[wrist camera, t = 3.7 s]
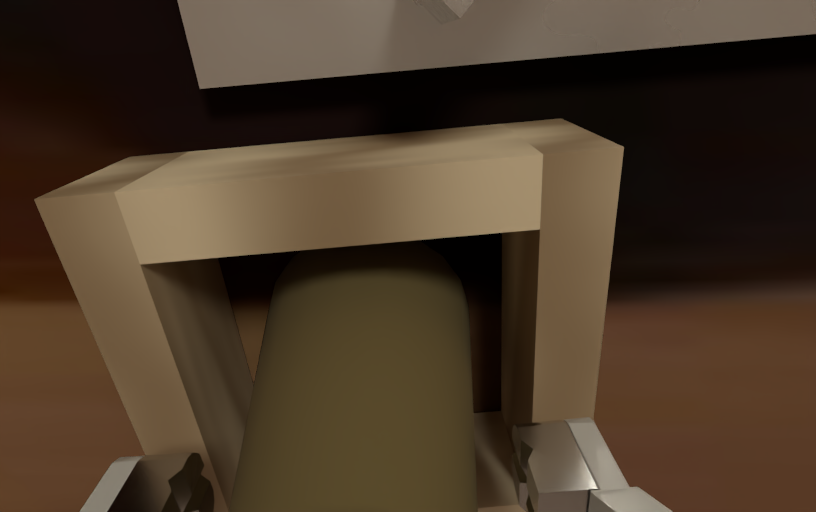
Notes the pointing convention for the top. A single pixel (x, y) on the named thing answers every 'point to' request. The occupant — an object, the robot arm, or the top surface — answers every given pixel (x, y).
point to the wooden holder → (338, 227)
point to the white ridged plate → (454, 32)
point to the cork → (362, 387)
